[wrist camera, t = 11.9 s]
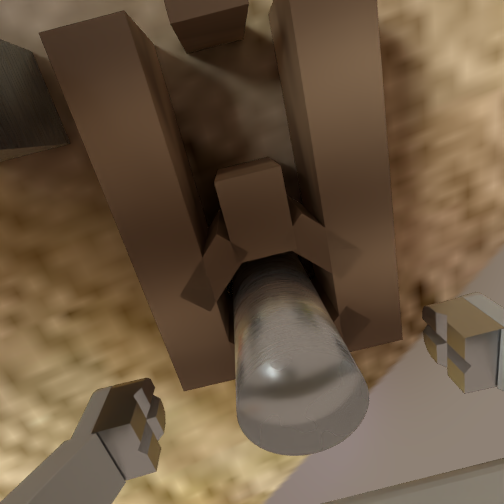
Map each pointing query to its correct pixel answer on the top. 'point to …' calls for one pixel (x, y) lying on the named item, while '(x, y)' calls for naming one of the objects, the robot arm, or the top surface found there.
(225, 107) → the top surface
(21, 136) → the square bit
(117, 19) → the bore block
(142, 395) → the robot arm
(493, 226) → the top surface
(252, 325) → the cylinder
